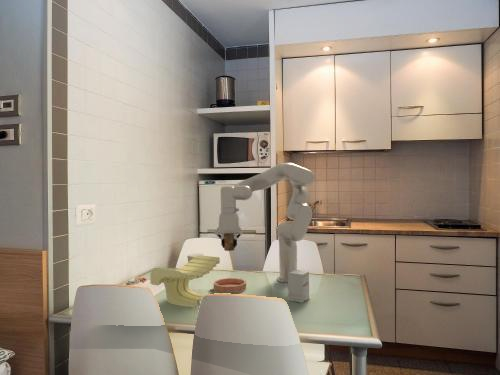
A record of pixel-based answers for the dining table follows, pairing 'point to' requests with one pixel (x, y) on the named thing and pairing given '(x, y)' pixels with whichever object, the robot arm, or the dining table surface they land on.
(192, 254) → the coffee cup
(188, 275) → the slatted curved stool
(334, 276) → the dining table surface
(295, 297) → the supplement box
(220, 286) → the round tray
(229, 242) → the walnut bead
